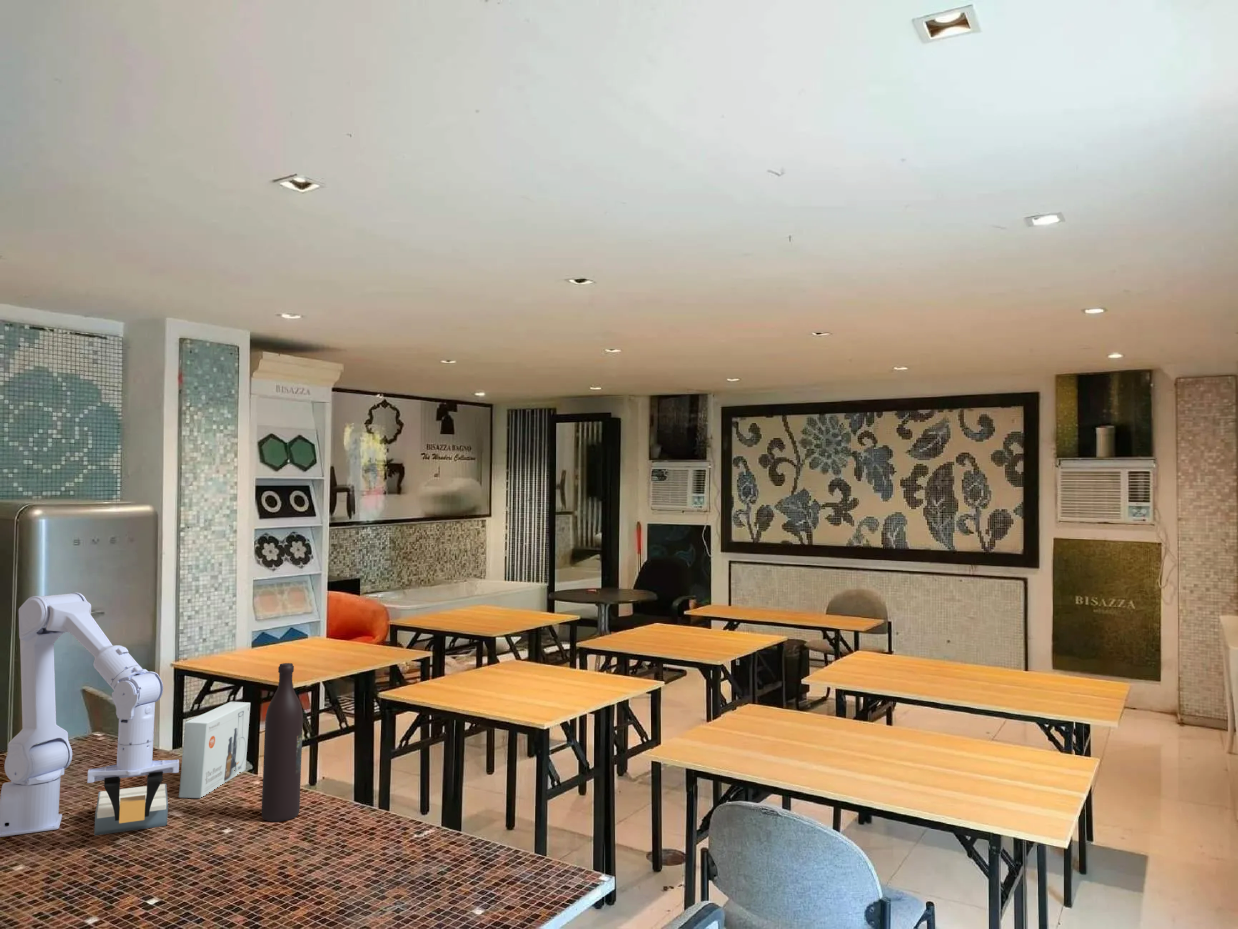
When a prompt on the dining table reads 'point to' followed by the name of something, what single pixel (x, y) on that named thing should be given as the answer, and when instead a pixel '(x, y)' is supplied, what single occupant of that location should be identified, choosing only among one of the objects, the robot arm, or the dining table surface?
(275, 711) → the wine bottle
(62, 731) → the robot arm
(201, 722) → the skincare box
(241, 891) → the dining table surface
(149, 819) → the tub
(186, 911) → the dining table surface
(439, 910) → the dining table surface
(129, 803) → the lid
